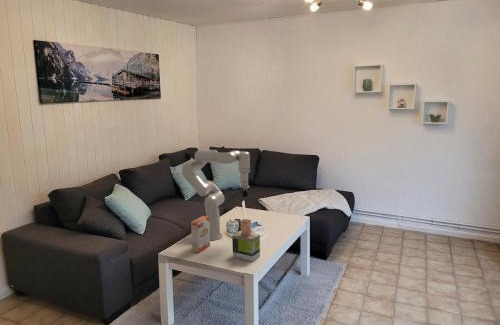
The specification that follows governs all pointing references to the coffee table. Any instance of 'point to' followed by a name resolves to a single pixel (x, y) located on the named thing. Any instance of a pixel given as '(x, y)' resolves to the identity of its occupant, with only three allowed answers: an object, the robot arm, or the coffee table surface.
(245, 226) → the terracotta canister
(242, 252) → the tea box
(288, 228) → the coffee table surface
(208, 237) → the cracker box
